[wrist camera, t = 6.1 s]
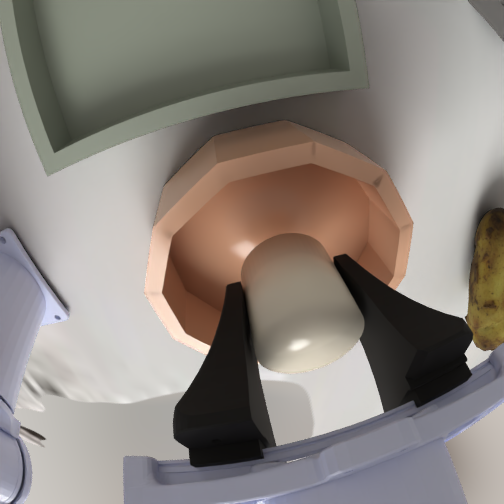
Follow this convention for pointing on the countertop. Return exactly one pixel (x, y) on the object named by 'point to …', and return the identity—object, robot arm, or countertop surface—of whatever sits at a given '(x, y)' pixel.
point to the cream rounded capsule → (298, 305)
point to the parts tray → (167, 63)
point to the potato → (487, 283)
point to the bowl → (266, 218)
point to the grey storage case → (491, 13)
